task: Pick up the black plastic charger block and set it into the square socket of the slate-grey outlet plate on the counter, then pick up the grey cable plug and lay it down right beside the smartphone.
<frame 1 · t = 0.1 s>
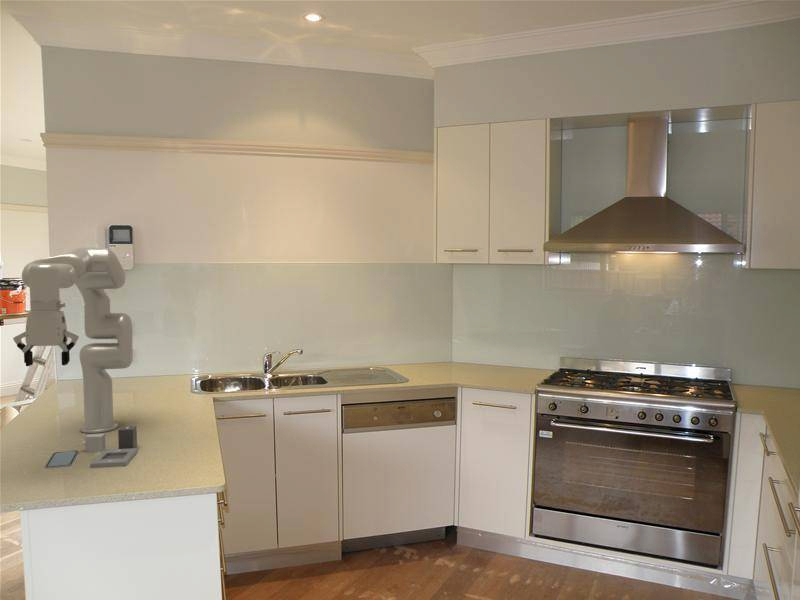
hand: (47, 365, 181), 31 cm above the worktop, fingers open, 9 cm apart
cable plug: (95, 450, 202), on the worktop
smartphone: (62, 461, 192), on the worktop
outlet plate: (114, 459, 192), on the worktop
charger: (128, 448, 203), on the worktop
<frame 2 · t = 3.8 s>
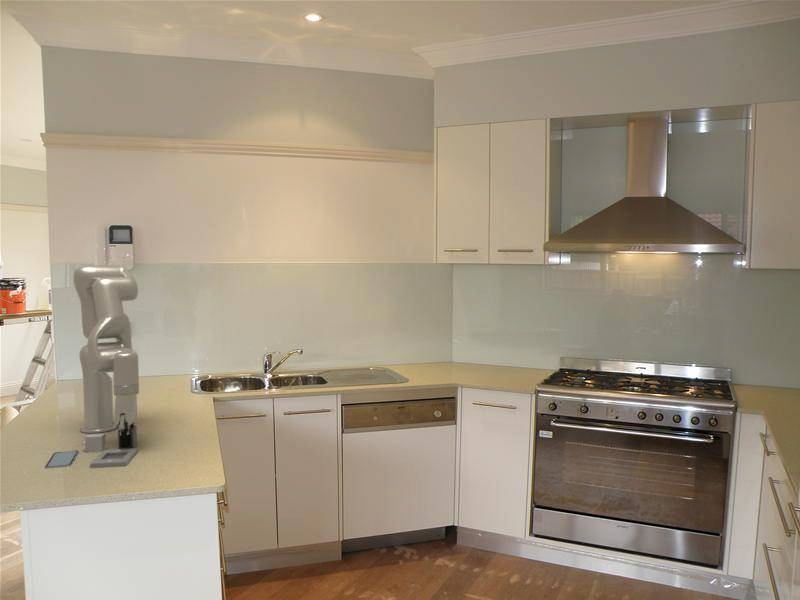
hand: (127, 443, 203), 2 cm above the worktop, fingers closed on charger, 4 cm apart
charger: (128, 448, 203), on the worktop, touching gripper
everything else where it was.
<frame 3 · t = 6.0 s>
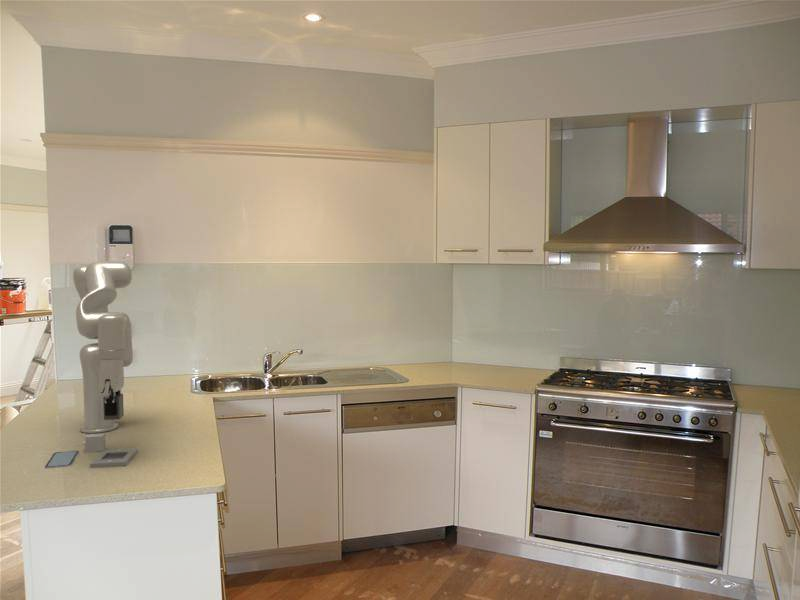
hand: (113, 412, 192), 15 cm above the worktop, fingers closed on charger, 4 cm apart
charger: (113, 417, 192), point 13 cm above the worktop, touching gripper
everything else where it was.
when the fingers open (3 cm above the worktop, at t = 8.4 s): charger stays where it is, resting on outlet plate.
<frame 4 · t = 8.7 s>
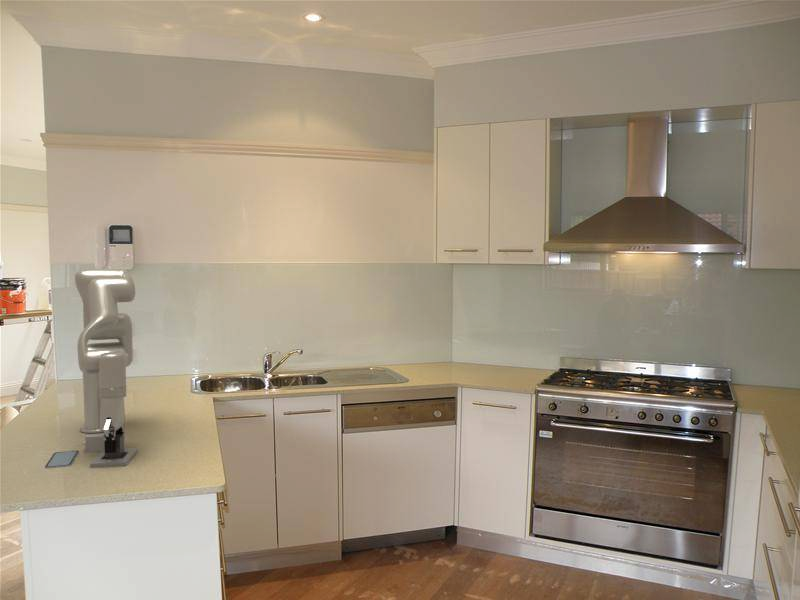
hand: (114, 448, 192), 4 cm above the worktop, fingers open, 7 cm apart
charger: (114, 458, 193), resting on outlet plate
everything else where it was.
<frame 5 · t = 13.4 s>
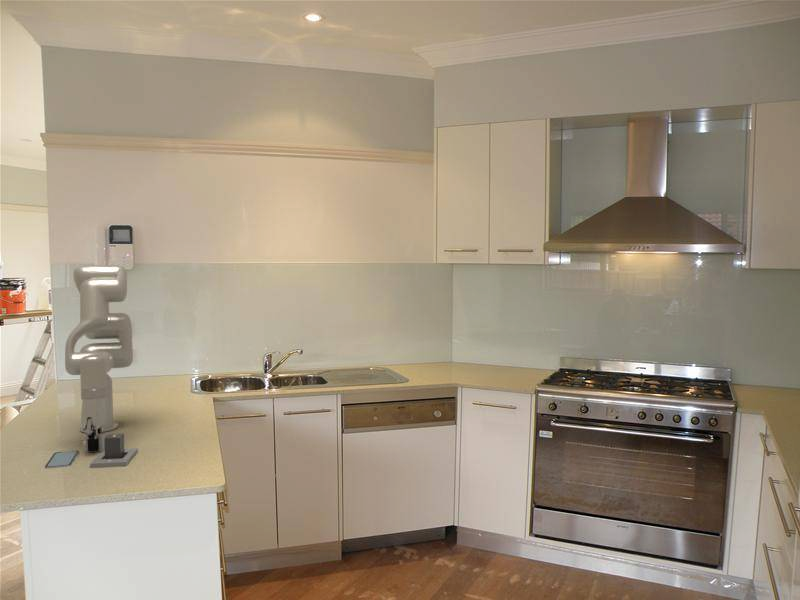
hand: (95, 448, 202), 1 cm above the worktop, fingers closed on cable plug, 3 cm apart
cable plug: (96, 450, 202), on the worktop, touching gripper
everything else where it was.
when the fingers open (2 cm above the worktop, at t = 18.3 s): cable plug drops 1 cm, on the worktop.
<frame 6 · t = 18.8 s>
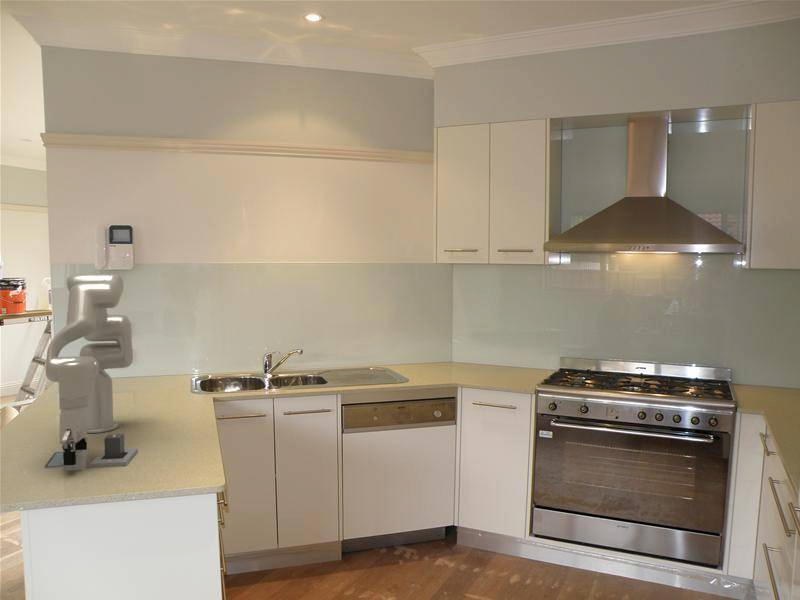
hand: (75, 459, 184), 3 cm above the worktop, fingers open, 9 cm apart
cable plug: (76, 468, 184), on the worktop
everything else where it was.
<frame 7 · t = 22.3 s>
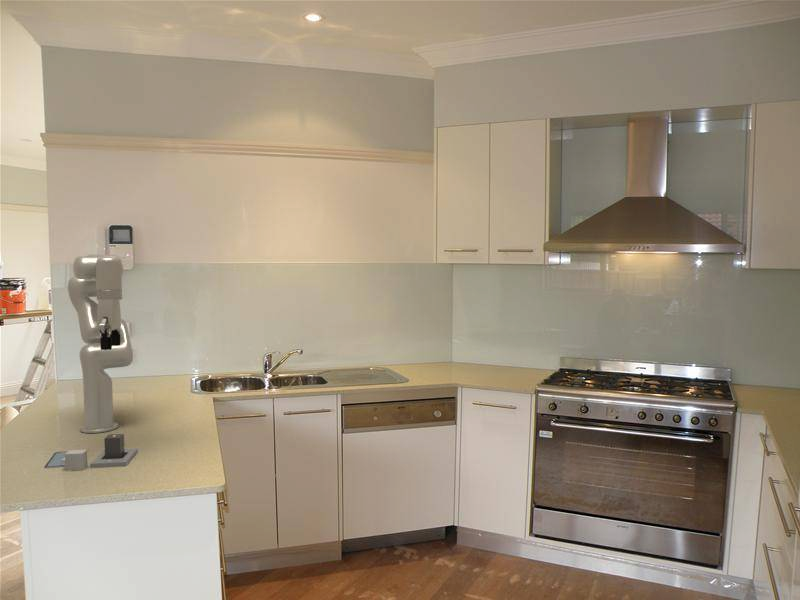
hand: (110, 347, 203), 33 cm above the worktop, fingers open, 9 cm apart
nothing on the worktop moved.
at the end: charger 0.2 cm off-centre on the outlet plate, point 0.3 cm above the outlet plate's base; charger tilted 0°; cable plug 11.5 cm from the smartphone (horizontally) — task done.
